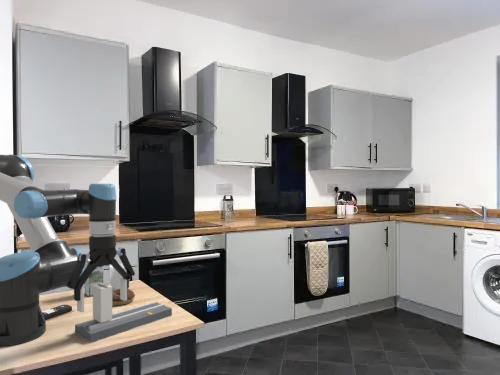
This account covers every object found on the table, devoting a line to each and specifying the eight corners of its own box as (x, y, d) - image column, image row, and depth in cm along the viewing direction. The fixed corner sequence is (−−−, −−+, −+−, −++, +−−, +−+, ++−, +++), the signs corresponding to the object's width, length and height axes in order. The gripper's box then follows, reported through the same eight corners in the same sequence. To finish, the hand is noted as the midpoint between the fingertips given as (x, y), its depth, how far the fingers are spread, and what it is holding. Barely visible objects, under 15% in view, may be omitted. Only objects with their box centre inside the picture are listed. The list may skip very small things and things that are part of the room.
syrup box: (99, 290, 152) (99, 255, 151) (103, 294, 147) (103, 258, 147) (84, 293, 148) (84, 257, 148) (88, 297, 143) (88, 259, 143)
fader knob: (92, 321, 112) (92, 285, 111) (103, 318, 114) (103, 282, 114) (101, 326, 108) (101, 288, 108) (112, 322, 111) (112, 285, 111)
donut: (124, 295, 146) (124, 285, 146) (140, 301, 140) (140, 290, 140) (99, 302, 138) (99, 292, 138) (115, 308, 131) (115, 297, 131)
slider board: (74, 332, 110) (74, 321, 110) (154, 308, 131) (154, 299, 131) (91, 342, 104) (91, 330, 104) (171, 315, 125) (171, 305, 125)
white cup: (123, 292, 149) (123, 268, 149) (105, 291, 151) (105, 267, 151) (133, 287, 157) (133, 263, 157) (116, 286, 159) (116, 262, 158)
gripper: (65, 241, 99) (65, 319, 99) (145, 231, 118) (145, 297, 118) (53, 238, 104) (54, 313, 104) (132, 229, 123) (132, 293, 123)
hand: (103, 305), depth 111 cm, fingers open, 13 cm apart
